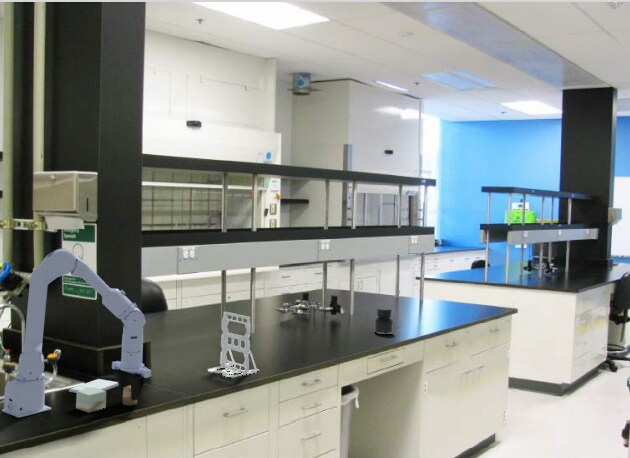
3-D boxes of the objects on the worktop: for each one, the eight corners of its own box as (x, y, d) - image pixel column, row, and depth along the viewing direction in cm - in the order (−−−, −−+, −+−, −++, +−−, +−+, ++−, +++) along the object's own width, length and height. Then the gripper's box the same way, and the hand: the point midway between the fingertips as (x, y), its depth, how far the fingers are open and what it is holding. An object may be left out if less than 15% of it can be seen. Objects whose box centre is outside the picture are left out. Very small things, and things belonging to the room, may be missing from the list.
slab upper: (88, 404, 170) (89, 395, 170) (76, 400, 174) (76, 391, 174) (105, 400, 175) (106, 391, 175) (93, 396, 178) (93, 387, 178)
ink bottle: (393, 332, 308) (394, 308, 308) (393, 336, 300) (394, 311, 299) (373, 331, 309) (374, 307, 309) (373, 334, 301) (374, 309, 300)
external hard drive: (118, 387, 197) (90, 397, 185) (97, 383, 200) (68, 393, 188) (118, 382, 197) (90, 392, 185) (97, 378, 200) (68, 388, 188)
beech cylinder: (128, 406, 177) (129, 390, 177) (119, 403, 180) (120, 387, 179) (140, 402, 181) (140, 387, 181) (130, 400, 183) (131, 384, 183)
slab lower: (88, 414, 170) (88, 404, 170) (76, 409, 173) (76, 400, 173) (105, 409, 175) (106, 400, 175) (93, 405, 178) (93, 396, 178)
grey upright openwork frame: (203, 370, 220) (206, 313, 220) (233, 364, 231) (235, 309, 230) (231, 379, 211) (234, 319, 210) (261, 372, 221) (263, 315, 221)
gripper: (160, 352, 179) (158, 400, 179) (126, 344, 187) (124, 390, 187) (140, 356, 173) (138, 405, 174) (106, 348, 181) (104, 395, 182)
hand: (130, 398), depth 180 cm, fingers closed on beech cylinder, 4 cm apart
